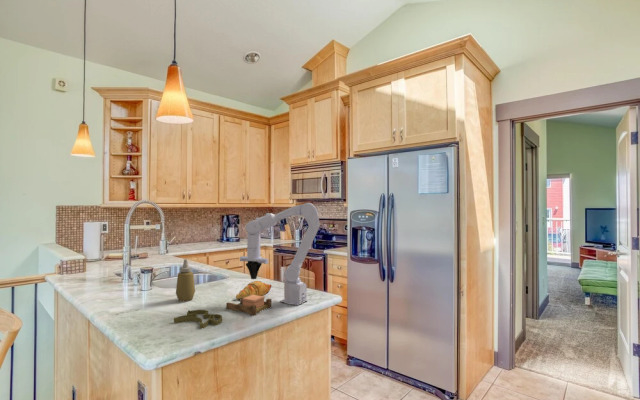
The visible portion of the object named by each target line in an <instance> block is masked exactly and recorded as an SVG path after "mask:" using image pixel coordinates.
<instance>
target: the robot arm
mask: <svg viewBox="0 0 640 400" xmlns="http://www.w3.org/2000/svg"><path fill="white" fill-rule="evenodd" d="M301 215H302V216H303V218H304V219H305V221H306V223H307V225H308V227H307V229H306V231H305V233H304V236H303V238H302V240H301V242H300V243H299V244H300V245H299V246H298V248H297V251H296V253H295V255H294V257H293V259H292V261H291V263H290V264H289V265H288V266H287V267H286V270H284V275H283V276H284V280H283V281H284V283H283V285H284V286H283V289H284V290H283V295H284V296H283V297H284V298H283V299H282V300H280V301H279V302H280V303H282V302H284V303H285V304H288V303H289V304H290V305H294V304H295V305H294V306H300V305H301V303H302V304H304V303H306V302H308V298H307V297H308V295H307V294H308V292H307V289H308V288H307V284H306V283H305V282H303V281H302V280H301V278H300V274H301V268H302V266H303V263H304V261H305V259H306V257H307V254H308V253H309V251H310V248H311V246H312V244H313V241H314V239H315V237H316V235H317V233H318V231H319V229H320V226H321V224H320V218H319V212H318V210H317V207H316V205H315V204H313V203H312V202H306V203H303V204H298V205H293V206H292V207H289V208H287V209H284V210H282V211H280V212H278V213H275V214H274V213H271V212H270V213H269V212H267V213H265V215H262V216H261V217H256V218H255V219H254V220H250V221H249V222H247V224H246V225H245V230H246V232H247V238H246V241H247V242H246V245H247V246H246V248H247V249H246V251H247V252H246V253H247V254H246V256H245V255H244V256H243V255H242V256H239V261H240V262H247V263H245V266H246V267H247V270H248V272H249V276H250V278H251V279H250V280H256V279H257V278H258V274H259V270H260V268H261V266H262V264H265V265H267V264H269V258H264V257H262V256H261V232H262V231H265V230H268V229H269V228H273V227H274V226H276V225H277V223H278V222H279V221H283V220H284V219H286V218H290V217H292V216H301ZM305 301H306V302H305ZM303 302H304V303H303ZM284 303H283V304H284ZM299 304H300V305H299Z"/></svg>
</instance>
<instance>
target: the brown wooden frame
mask: <svg viewBox="0 0 640 400" xmlns="http://www.w3.org/2000/svg"><path fill="white" fill-rule="evenodd" d="M225 306H226V308H225V309H226V310H229V311H236V312H240V313H244V314H249V315H250V316H252V315H253V316H257V314H258V313H260V311H261V312H263V311H265V310H267V309H268V308H270V307H272V298H267V299H265V300H264V305H263V306H261V307H258V308H256V305H252V306H250V307H249V306H244V305H243V298H240V299H239V303H234V302H226V304H225ZM266 308H267V309H266ZM264 309H265V310H264ZM270 309H271V308H270ZM262 310H263V311H262Z"/></svg>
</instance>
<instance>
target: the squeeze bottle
mask: <svg viewBox="0 0 640 400" xmlns="http://www.w3.org/2000/svg"><path fill="white" fill-rule="evenodd" d="M188 261H189V260H188V258H187V259H183V263H182V267H180V268H179V272H178V273H177V280H176V287H175V290H176V291H175V295H176V298H177V301H178V302H190V301H192V300H193V298H194V295H195V293H196V289H195V277H194V272H193V271H192V267H191V266H189V262H188Z"/></svg>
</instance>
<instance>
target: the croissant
mask: <svg viewBox="0 0 640 400" xmlns="http://www.w3.org/2000/svg"><path fill="white" fill-rule="evenodd" d="M271 288H272V284H270V283H269V284H268V283H265V282H262V281H260V280H253V281H251V282H249V283H248V284H247V285H245V287H243V289H241V290H240V291H239V292H238V293H237V294H236V295H235V298H236V300H240V298H245V297H248V296H251V295H257V296H263V297H264V296H265V295H266V294H267V293H269V292H270V290H271Z"/></svg>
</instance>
